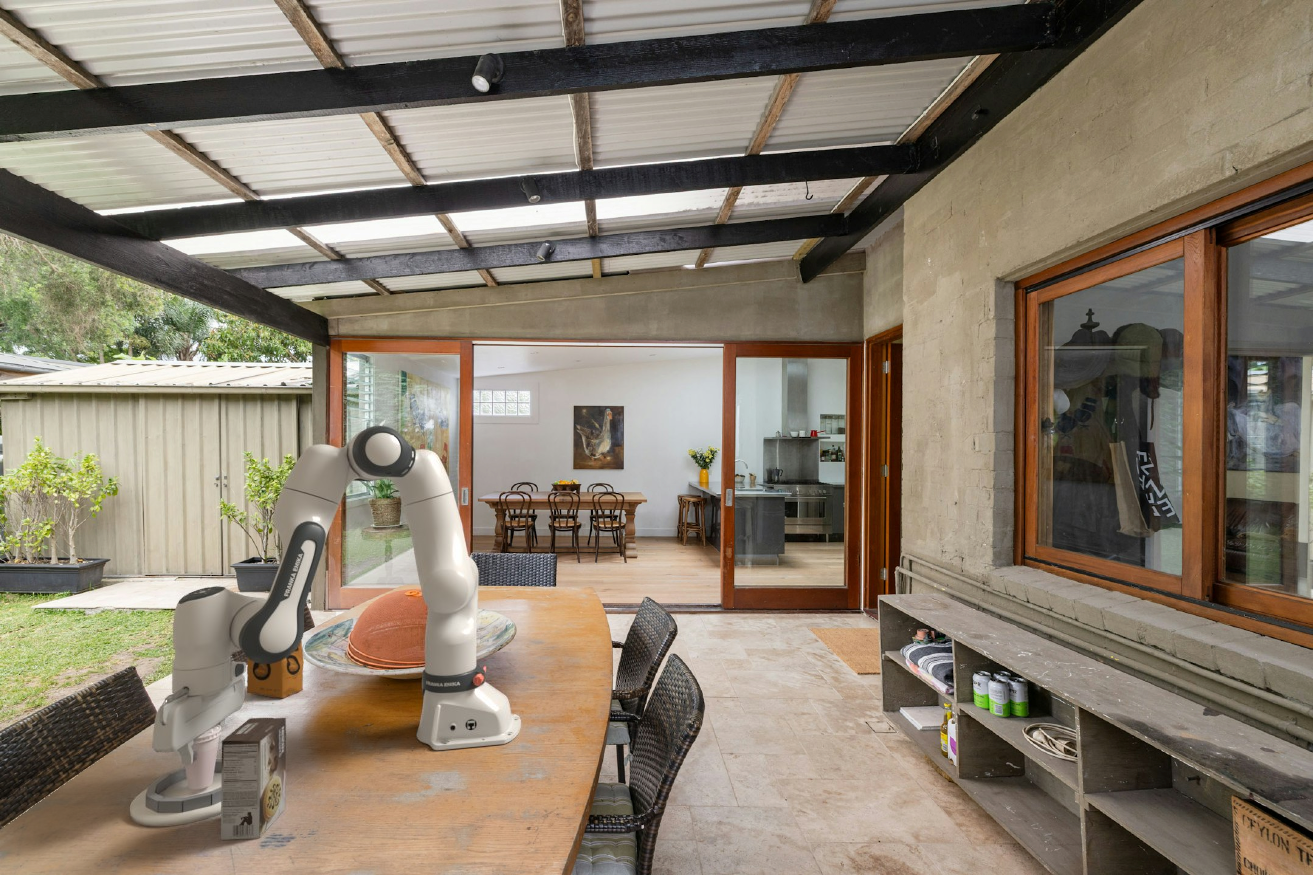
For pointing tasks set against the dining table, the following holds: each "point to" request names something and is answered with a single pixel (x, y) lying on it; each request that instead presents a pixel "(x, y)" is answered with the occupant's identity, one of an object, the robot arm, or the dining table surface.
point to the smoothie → (203, 759)
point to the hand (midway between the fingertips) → (201, 754)
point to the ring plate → (177, 800)
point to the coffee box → (253, 778)
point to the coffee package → (276, 676)
